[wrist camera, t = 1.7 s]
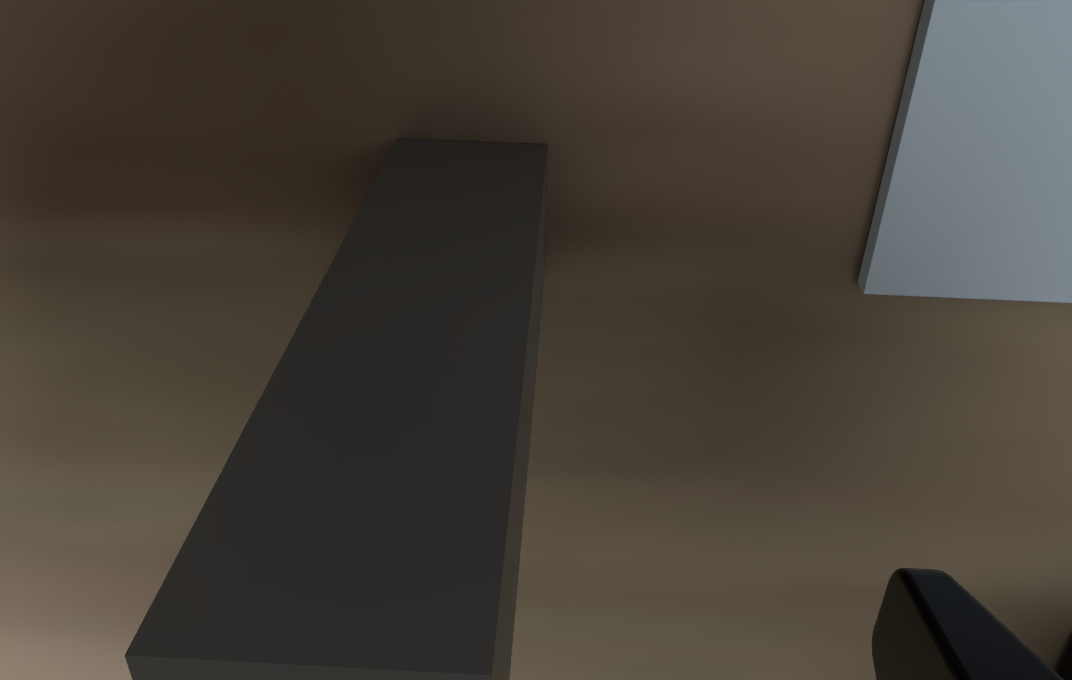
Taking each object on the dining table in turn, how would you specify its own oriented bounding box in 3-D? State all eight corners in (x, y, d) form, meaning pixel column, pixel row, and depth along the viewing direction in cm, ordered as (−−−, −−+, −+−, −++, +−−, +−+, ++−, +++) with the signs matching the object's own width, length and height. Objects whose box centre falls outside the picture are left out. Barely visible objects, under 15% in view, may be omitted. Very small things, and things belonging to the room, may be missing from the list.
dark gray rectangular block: (544, 278, 16) (491, 876, 7) (405, 272, 16) (189, 857, 7) (548, 144, 14) (490, 675, 6) (396, 138, 14) (124, 653, 6)
